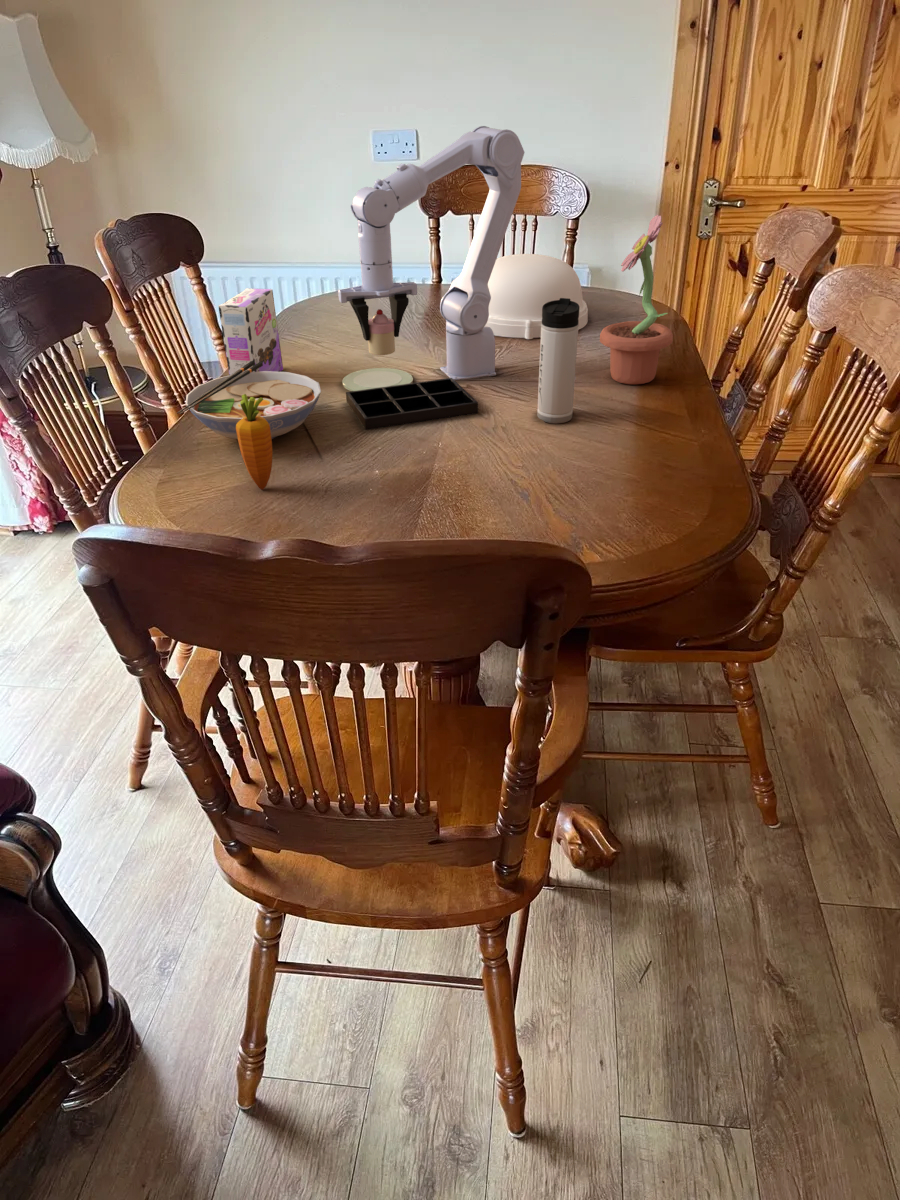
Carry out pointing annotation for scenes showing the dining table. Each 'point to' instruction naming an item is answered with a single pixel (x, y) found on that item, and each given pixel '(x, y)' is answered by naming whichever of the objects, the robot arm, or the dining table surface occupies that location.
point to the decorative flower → (638, 324)
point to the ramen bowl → (280, 406)
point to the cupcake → (381, 334)
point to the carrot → (255, 442)
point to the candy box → (251, 331)
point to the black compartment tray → (410, 403)
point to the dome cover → (529, 293)
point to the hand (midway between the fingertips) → (380, 337)
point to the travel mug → (557, 360)
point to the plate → (376, 378)
